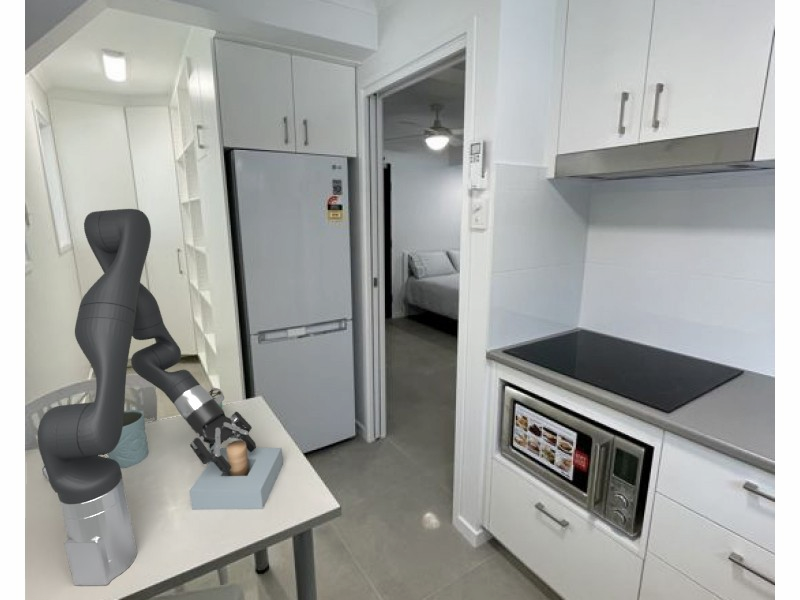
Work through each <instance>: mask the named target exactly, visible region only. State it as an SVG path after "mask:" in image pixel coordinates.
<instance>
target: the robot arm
mask: <svg viewBox="0 0 800 600" xmlns="http://www.w3.org/2000/svg"><path fill="white" fill-rule="evenodd" d="M151 228H152V227H151V223H150V220H149V218H148V216H147V215H146V214H145V212H143V211H142V210H140V209H136V208H120V209H108V210H107V209H106V210H96V211H92V212H90V213H88V214H87V215H86V216H85V219H84V222H83V229H84V234H85V237H86V240H87V243H88V245H89V247H90V249H91V251H92V253H93V254H94V256H95V258H96V260H97V262H98V264H99V265H100V268H101V269H102V271H103V274H102V275H101V276H100V277H99V278H98V279H97V280H96V281H95V282H94V284H92V286H91V287H90V288H89V289H88V290H87V291H86V293H85V294H83V297H82V299H81V301H80V304H79V308H78V313H77V316H76V321H75V327H74V337H75V340H76V341H77V342H76V343H77V344H78V346H79V348H80V350H81V351H82V353H83V355H84V356H85V358H86V359H87V361H88V362H89V364H90V366H91V367H92V369H93V370H92V371H93V373H94V375H95V380H96V381H95V382H96V388H95V389H96V391H95V398H94V401H92V402H83V403H74V404H73V403H72V404H62V405H57V406H54V407H51V408H50V409H49V410H47V411H46V412H45V413H44V414H43V415H42V417H41V419H40V421H39V424H38V429H37V445H38V451H39V454H40V457H41V459H42V464H43V467H44V466H45V469H46V472H47V475H48V478H49V479H48V482H49V484H50V486H51V488H52V490H53V491H54V492H55V493H56V494H57V496H58V500H59V503H60V504H59V505H60V508H61V513H62V517H63V521H64V526H65V530H66V533H67V538H66V539H65V540H64V541H63V545H64V549H65V552H66V553H65V554H66V556H67V560H68V565H69V569H70V573H71V577H72V581H73V585H74V586H108V584H110V583H111V581H112V580H114V579H115V578H117V577H118V576H120V575H121V574H122V573H125V571H126V570H127V569H129V567H130V566H131V565H132V564H133V562H134V561H135V560H136V557H137V554H138V552H137V551H138V550H137V545H136V541H135V535H134V531H133V526H132V519H131V516H130V509H129V505H128V499H127V495H126V490H125V484H124V480H123V479H124V478H123V475H122V474H123V473H122V468H120V465H119V464H118V462H116V461H115V460H113V459H110V458H109V457H105V456H102V455H108V453H110V452H112V451H113V450H114V449H115V448H116V446H117V444H118V442H119V440H120V437H121V433H122V428H123V420H124V411H125V402H126V401H125V400H126V385H127V384H126V383H127V372H128V369H127V368H128V362H129V354H130V349H131V343H132V338H133V339H135V340H136V341H147V340H152V339H154V340H155V343H153V344H151V345H148V346H146V347H142V348H141V349H139V350H137V351H136V352H134V353H133V354H132V355H131V357H130V358H131V359H130V363H131V368H132V369H133V371H134V372H135V373H136V374H137V375H138V376H140V377H141V378H142V379H143V380H146V381H147V382H149V383H150V384H152V385H153V386H154V387H155V388H157V389H159V390H160V391H162V392H163V393H164V394H165V396H166V397H167V398H168V399H169V400H170V402H171V403H172V404H173V405H174V406H175V409H176V410H177V412H178V413H179V414H180V415H181V417H182V418H183V419H184V421H185V422H187V424H188V425H189V427H191V429H192V430H193V431H194V433H196V434H197V435H199V437H195V438H194V439H193V440H192V442H190V444H189V447H190V448H191V449H192V452H194V454H195V455H196V456H197V457H198V459H199V461H200V462H201V463H202V464H203V465H207V464H209V463H210V462H214V463H215V465H216V466H217V467H218V468H219V469H220V471H222V472H225V473H226V472H228V471H229V470H230V469H231V465H230V464H229V463H228V462H227V461H226V459H225V458H224V457H223V456H222V455H221V456H220V448H221V445H222V444H223V443H224V442H226V441H227V440H229V439H237V440H243V441H245V442H246V448H247V449H248V450H249V451H250V452H252V451H253V450H254V449H255V448H257V445H256V442H255V441H254V440H253V438H252V437H251V436H250V434H249V432H250V431H251V430H252V425H251V424H250V423H249V422H248V421H247V420H246V418H244V416H243V415H241V413H240V412H238V411H235V412H234V413H232V415H230V416H229V417H228V416H227V415H226V414H225V410H224V409H223V407H222V408H221V407H220V406H219V405H218V403H217V402H216V401H215V400H214V399H213V398H212V396H211V395H210V394H209V391H208V390H207V389H205V388H204V387H203V386H202V385H201V384H200V383H199V381H198V380H197V379H196V378H195V376H193V374H192V373H191V372H190V371H189V370H187V369H179V370H175V371H167V370H169V369H170V368H172V367H174V366H175V365H177V364H178V363H179V362H180V361H181V358H182V351H181V348H180V346H179V345H178V343H177V342H176V341H175V339H174V338H173V337H172V335H171V332H169V330H168V328H167V327H166V325H165V324H164V323H165V322H164V319H163V315H162V313H161V310H160V306H159V304H158V301H157V299H156V298H155V295H153V293H152V292H151V291H150V290H149V289H148V288H147V287H146V286H145V285H144V284H143V283H141V278H142V274H143V271H144V266H145V263H146V260H147V257H148V253H149V249H150V243H151V238H152V229H151ZM205 443H207V444H208V445H207V446H208V447H207V446H205Z"/></svg>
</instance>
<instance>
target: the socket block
mask: <svg viewBox="0 0 800 600" xmlns="http://www.w3.org/2000/svg"><path fill="white" fill-rule="evenodd" d="M221 455H222V456H223V457H224V458H225V459H226V461H227V462H228V458H227V450H226V447H220V456H221ZM247 457H248V466H249V474H248V476H230V474H229V471H228V472H226V473H225V472H222V471H220V469H219V468H218V467H217V466H216V465H215V463H214V462H209V463H207V464H208V465H206V467H205V469H204V470H203V471H202V473H201V474H200V475H199V477H198V478H197V479H196V481H195V482H194V484H193V485H192V486H191V488H190V489H189V490H188V491H189V497H190V502H191V503H190V504H191V510H263V509H264V507H265V506H266V505H265V504H266V502H267V500H268V498H269V496H270V494H271V492H272V491H273V487H274V485H275V483H276V480H277V478H278V477H279V475H280V472H281V469H282V467H283V465H284V462H283V461H284V460H283V449H282V447H256V448H255V449H254V450H253V451H252V452H250V451H249V450H248V449H247Z"/></svg>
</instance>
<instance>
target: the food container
mask: <svg viewBox="0 0 800 600" xmlns="http://www.w3.org/2000/svg"><path fill="white" fill-rule="evenodd" d="M208 393H209V394H210V395H211V396H212V398H213V399H214V400H215V401H216V402H217V403H218V405H219V406H220V407H221V408H222V409H223V402H224V400H225V396H224V393H223V391H222V390H221V388H217V387H213V386H212V387H210V391H208Z"/></svg>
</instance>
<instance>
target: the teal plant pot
mask: <svg viewBox="0 0 800 600" xmlns="http://www.w3.org/2000/svg"><path fill="white" fill-rule="evenodd" d="M145 421H146V420H145V414H144V412H143V411H142V410H139V409H138V410H137V409H130V410H129V409H127V410H124V420H123V428H122V433H121V437H120V440H119V442H118V444H117V446H116V448H115V449H114V450H113V451H112V452H110V453H108V454H107V458H110V459H113V460H115V461H116V462H118V464H119V465H120V468H121V469H124V468H129V467H132V466H134V465H137V464H139V463H142V462H143V461H144V460H145V459H147V457H148V455H149V447H148V446H149V445H148V442H147V441H148V440H147V433H146V424H145V423H146V422H145Z"/></svg>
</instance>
